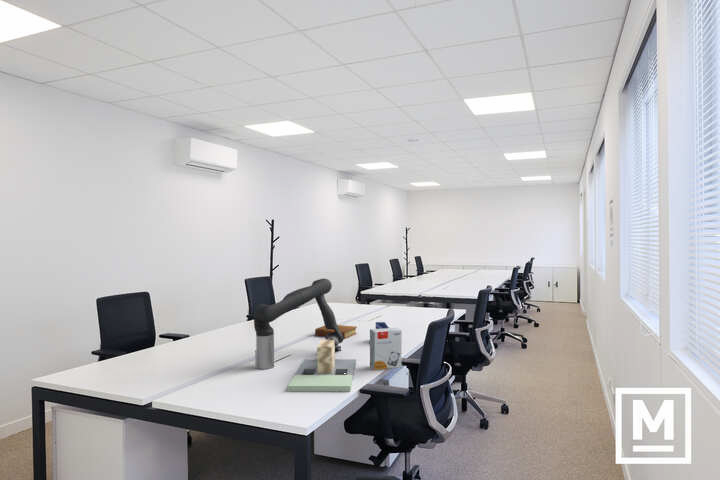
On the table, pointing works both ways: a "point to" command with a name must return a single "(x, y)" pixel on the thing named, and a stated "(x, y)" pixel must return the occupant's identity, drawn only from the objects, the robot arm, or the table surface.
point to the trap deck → (323, 377)
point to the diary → (345, 330)
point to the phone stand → (381, 325)
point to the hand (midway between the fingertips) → (327, 352)
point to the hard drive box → (385, 348)
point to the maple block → (326, 356)
